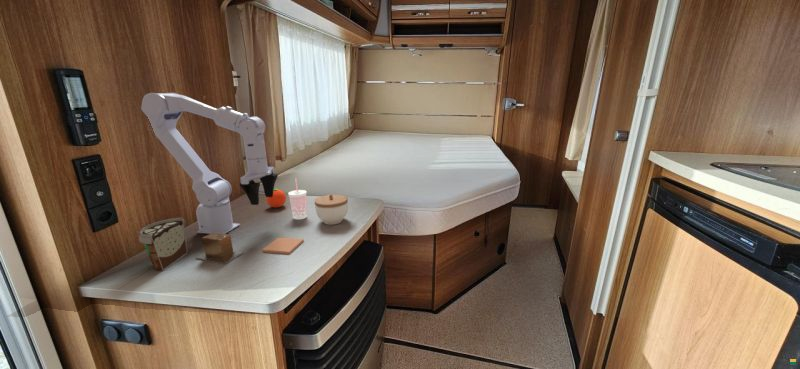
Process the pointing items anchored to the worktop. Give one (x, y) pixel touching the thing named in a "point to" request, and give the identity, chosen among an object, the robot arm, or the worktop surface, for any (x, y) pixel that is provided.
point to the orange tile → (283, 245)
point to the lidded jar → (331, 208)
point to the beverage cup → (298, 203)
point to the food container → (164, 242)
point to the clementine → (276, 198)
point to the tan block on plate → (218, 248)
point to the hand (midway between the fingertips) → (262, 200)
